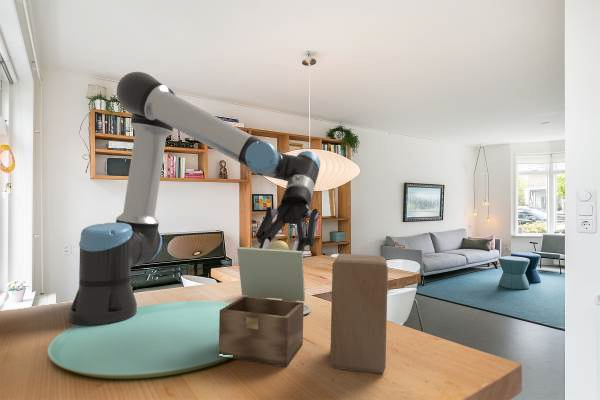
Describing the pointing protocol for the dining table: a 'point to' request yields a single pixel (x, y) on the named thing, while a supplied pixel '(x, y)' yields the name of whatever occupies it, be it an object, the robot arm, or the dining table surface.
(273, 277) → the lid
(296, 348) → the box
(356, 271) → the block
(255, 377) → the dining table surface
